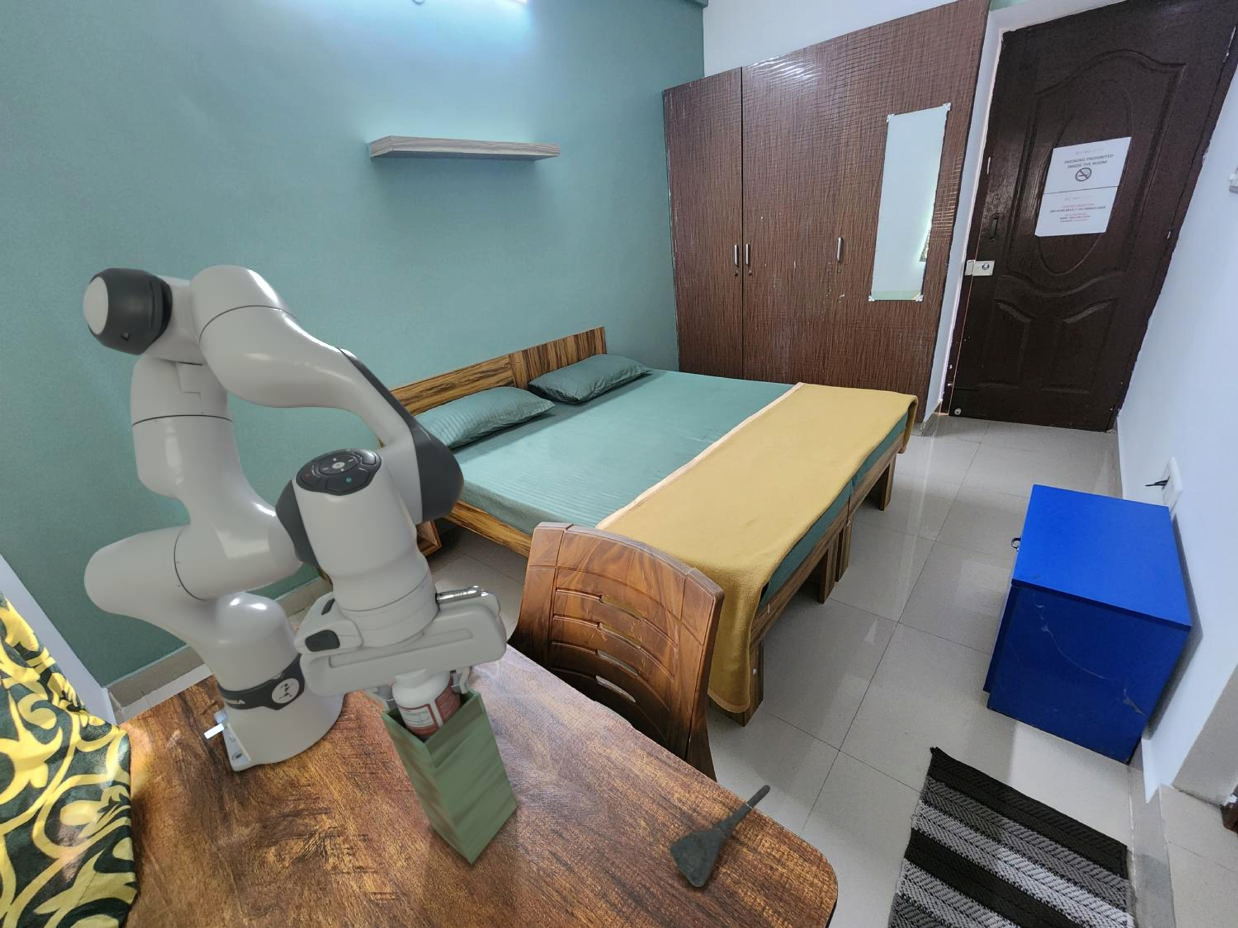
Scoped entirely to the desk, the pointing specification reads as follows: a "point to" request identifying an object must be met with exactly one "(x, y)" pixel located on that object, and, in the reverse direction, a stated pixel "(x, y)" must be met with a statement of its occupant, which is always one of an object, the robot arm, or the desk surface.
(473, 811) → the holder
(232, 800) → the desk surface
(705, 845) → the artifact
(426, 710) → the pill bottle
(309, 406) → the robot arm
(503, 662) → the desk surface
